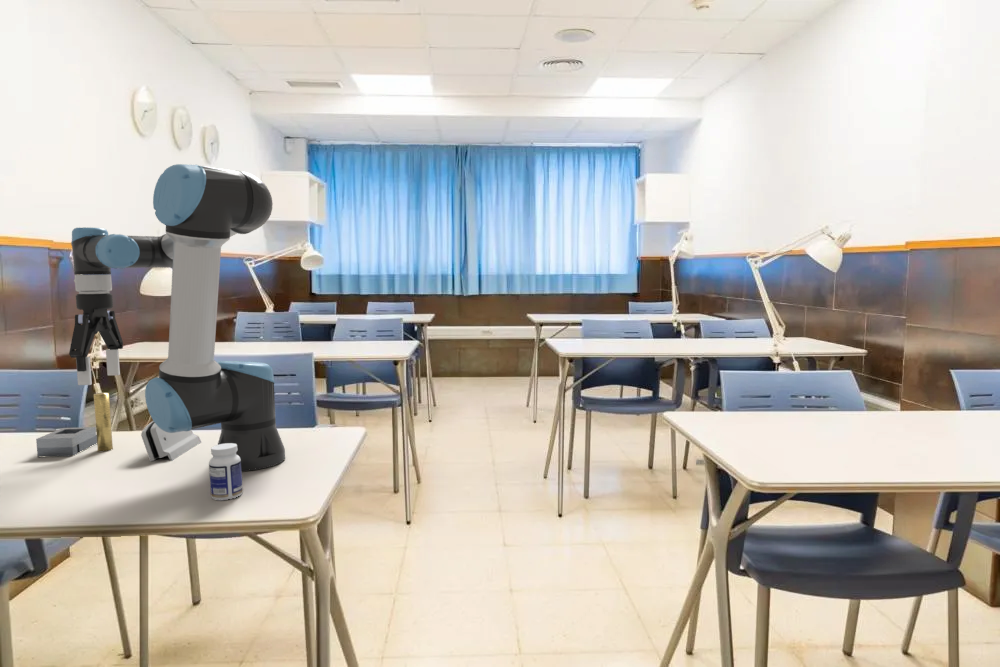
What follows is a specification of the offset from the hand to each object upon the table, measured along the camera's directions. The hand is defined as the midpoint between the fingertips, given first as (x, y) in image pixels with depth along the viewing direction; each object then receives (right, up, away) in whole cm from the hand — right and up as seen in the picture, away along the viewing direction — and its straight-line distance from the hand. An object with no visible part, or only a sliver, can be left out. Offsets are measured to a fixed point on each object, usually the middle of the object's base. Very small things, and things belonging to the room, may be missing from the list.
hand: (100, 379), depth 160 cm
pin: (0, -17, +2) cm, 17 cm away
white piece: (+17, -18, 0) cm, 25 cm away
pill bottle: (+44, -21, -32) cm, 59 cm away
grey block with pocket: (-9, -17, +3) cm, 20 cm away
